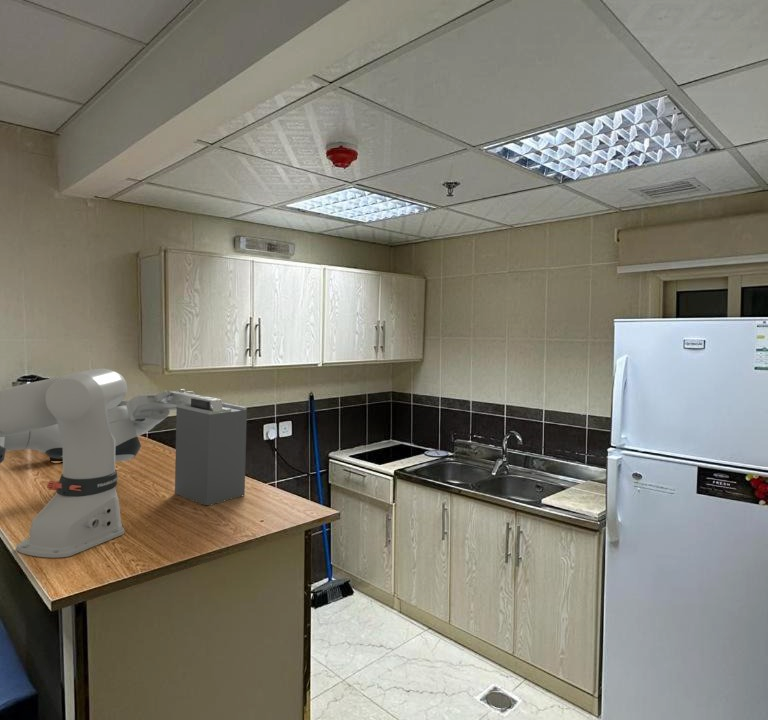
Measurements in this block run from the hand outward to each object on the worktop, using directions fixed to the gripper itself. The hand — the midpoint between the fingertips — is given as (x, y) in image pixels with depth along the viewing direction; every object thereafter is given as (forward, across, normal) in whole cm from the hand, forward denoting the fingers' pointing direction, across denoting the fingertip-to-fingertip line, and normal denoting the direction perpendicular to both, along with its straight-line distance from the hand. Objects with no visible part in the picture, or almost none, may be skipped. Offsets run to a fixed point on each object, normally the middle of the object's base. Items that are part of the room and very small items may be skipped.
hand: (175, 391), depth 161 cm
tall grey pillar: (-2, -3, -33) cm, 33 cm away
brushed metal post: (+6, 0, -8) cm, 10 cm away
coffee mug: (-62, +10, +1) cm, 63 cm away
